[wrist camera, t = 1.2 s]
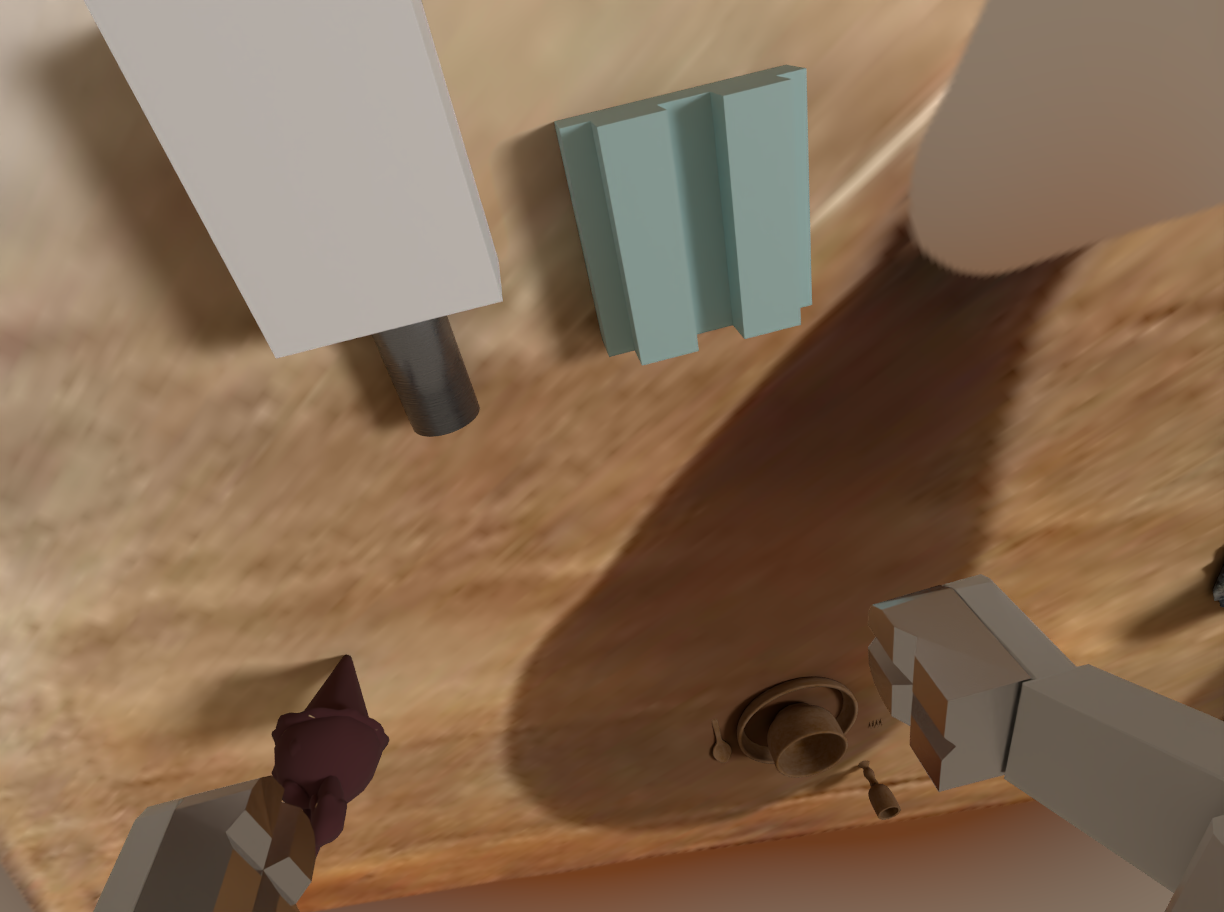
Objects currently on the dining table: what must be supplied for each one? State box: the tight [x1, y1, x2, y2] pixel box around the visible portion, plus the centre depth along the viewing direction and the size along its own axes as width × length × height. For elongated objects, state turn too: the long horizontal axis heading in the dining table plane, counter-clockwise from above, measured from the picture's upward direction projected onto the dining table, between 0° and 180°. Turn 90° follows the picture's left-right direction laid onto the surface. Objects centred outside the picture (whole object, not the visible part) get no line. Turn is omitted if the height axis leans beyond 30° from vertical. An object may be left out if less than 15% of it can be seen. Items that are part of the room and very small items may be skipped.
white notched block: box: [84, 0, 503, 358], centre depth 30 cm, size 14×11×6 cm
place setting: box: [712, 677, 901, 820], centre depth 65 cm, size 18×20×6 cm
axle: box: [372, 315, 480, 437], centre depth 35 cm, size 14×4×4 cm, turn 11°
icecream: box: [272, 655, 389, 857], centre depth 44 cm, size 7×7×15 cm
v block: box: [554, 65, 812, 365], centre depth 35 cm, size 12×12×4 cm
